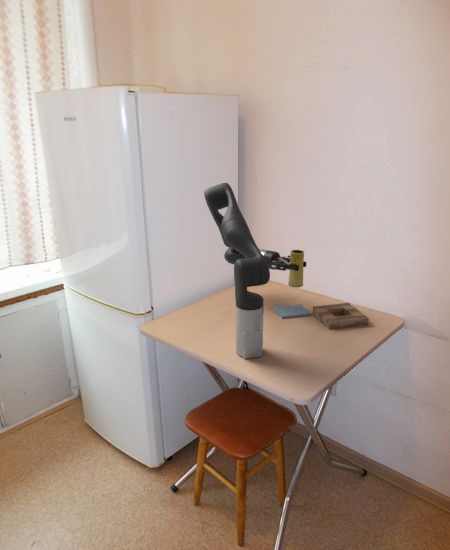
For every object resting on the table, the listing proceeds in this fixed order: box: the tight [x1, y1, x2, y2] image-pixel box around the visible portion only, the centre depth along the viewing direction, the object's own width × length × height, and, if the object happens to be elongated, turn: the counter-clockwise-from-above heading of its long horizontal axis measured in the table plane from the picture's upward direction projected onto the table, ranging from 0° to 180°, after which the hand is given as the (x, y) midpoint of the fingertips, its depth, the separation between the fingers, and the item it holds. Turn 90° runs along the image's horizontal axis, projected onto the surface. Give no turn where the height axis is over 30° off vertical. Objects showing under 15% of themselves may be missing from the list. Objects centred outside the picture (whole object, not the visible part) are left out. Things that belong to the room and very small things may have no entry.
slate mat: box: [273, 303, 311, 319], centre depth 176 cm, size 10×12×1 cm
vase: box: [287, 249, 305, 289], centre depth 170 cm, size 6×6×14 cm
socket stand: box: [312, 302, 370, 331], centre depth 169 cm, size 16×16×3 cm
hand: (302, 266), depth 168 cm, fingers closed on vase, 5 cm apart
